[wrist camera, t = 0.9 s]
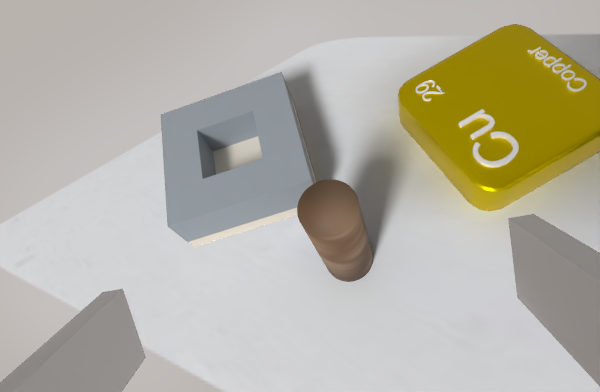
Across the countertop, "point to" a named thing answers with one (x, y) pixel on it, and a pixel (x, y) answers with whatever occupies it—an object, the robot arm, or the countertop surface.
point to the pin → (336, 228)
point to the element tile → (503, 115)
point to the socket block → (234, 162)
